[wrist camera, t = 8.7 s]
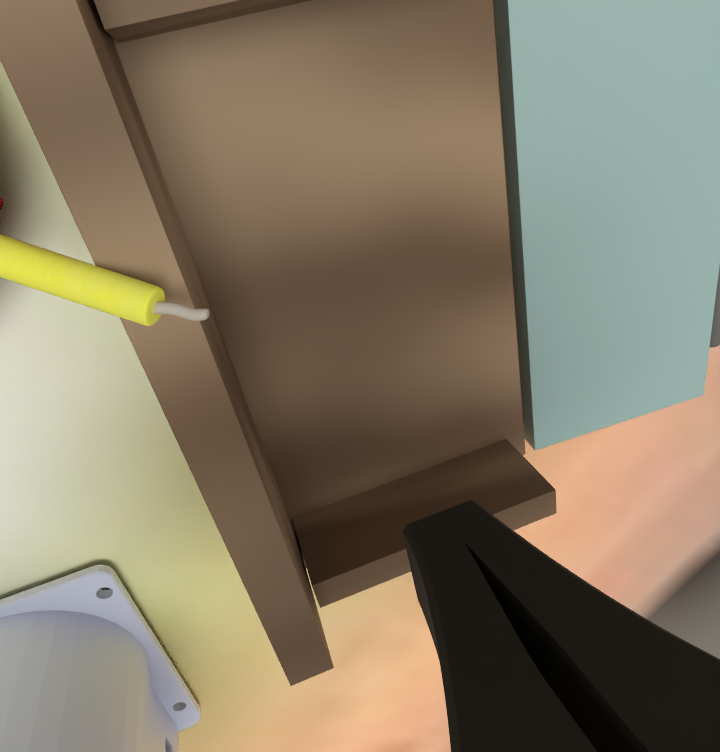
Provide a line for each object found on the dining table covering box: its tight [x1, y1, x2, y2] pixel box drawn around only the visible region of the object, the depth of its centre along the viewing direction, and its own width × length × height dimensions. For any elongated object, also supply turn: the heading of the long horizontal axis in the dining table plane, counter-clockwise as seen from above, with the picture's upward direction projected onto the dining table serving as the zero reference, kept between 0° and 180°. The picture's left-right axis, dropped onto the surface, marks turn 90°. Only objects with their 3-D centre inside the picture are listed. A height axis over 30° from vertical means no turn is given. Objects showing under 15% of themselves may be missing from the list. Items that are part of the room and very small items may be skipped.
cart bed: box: [0, 0, 556, 686], centre depth 14 cm, size 18×10×6 cm, turn 12°
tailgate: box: [493, 0, 720, 450], centre depth 17 cm, size 16×1×8 cm
